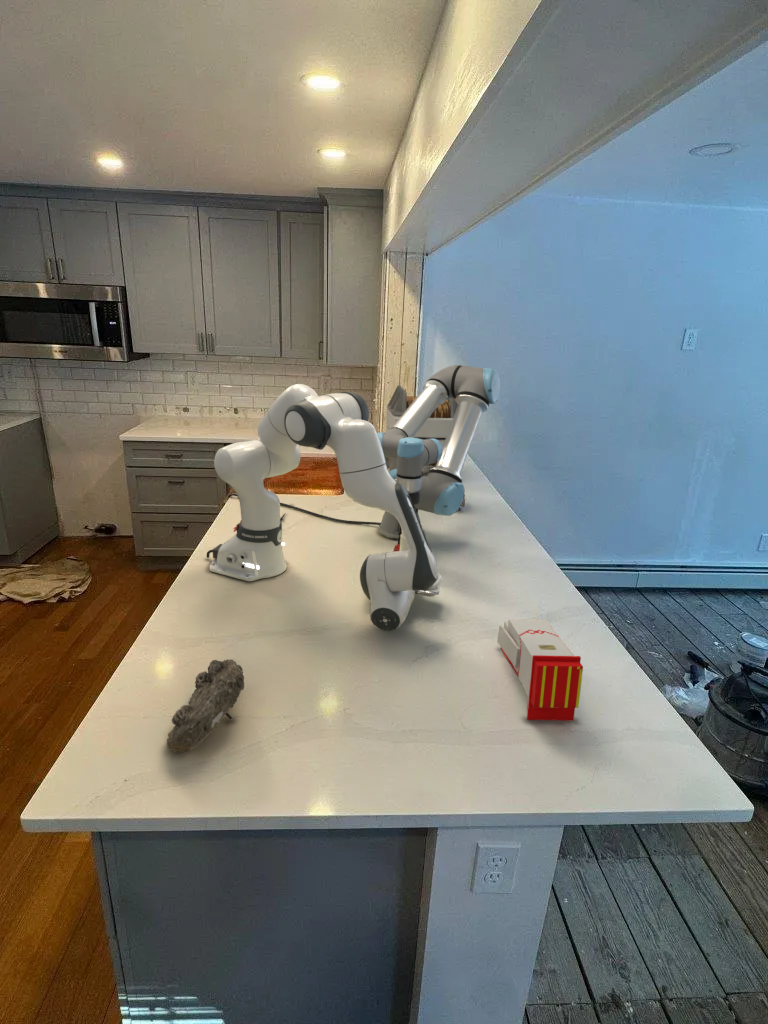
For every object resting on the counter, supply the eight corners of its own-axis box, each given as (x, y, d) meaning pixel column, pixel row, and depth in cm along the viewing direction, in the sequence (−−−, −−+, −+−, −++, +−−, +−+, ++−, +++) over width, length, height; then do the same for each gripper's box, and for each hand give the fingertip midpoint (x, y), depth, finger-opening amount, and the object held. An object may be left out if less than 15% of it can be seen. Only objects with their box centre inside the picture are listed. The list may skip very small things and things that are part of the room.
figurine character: (465, 515, 224) (460, 499, 237) (467, 498, 221) (462, 483, 234) (448, 515, 224) (444, 499, 237) (450, 498, 220) (445, 482, 234)
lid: (412, 557, 174) (412, 552, 173) (392, 555, 175) (392, 550, 174) (414, 550, 180) (415, 544, 179) (395, 547, 181) (395, 542, 180)
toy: (543, 604, 136) (592, 662, 106) (538, 656, 138) (584, 727, 109) (493, 603, 135) (528, 661, 106) (489, 655, 138) (522, 726, 109)
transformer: (382, 463, 289) (386, 382, 275) (445, 464, 293) (451, 384, 279) (390, 482, 257) (394, 392, 243) (460, 483, 261) (468, 394, 247)
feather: (292, 507, 224) (294, 503, 223) (275, 531, 197) (278, 527, 197) (288, 505, 224) (291, 501, 223) (271, 528, 197) (273, 524, 197)
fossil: (192, 660, 117) (244, 628, 112) (224, 691, 120) (276, 661, 115) (142, 746, 98) (202, 712, 93) (182, 779, 101) (242, 748, 96)
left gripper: (439, 584, 144) (446, 562, 156) (361, 573, 148) (374, 553, 160) (437, 606, 146) (444, 583, 159) (360, 595, 150) (373, 573, 163)
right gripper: (390, 480, 179) (387, 548, 186) (400, 499, 161) (396, 573, 169) (414, 480, 180) (409, 547, 188) (426, 499, 162) (421, 572, 170)
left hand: (408, 568), depth 160 cm, fingers closed on jar, 5 cm apart
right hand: (403, 559), depth 178 cm, fingers closed on lid, 6 cm apart
